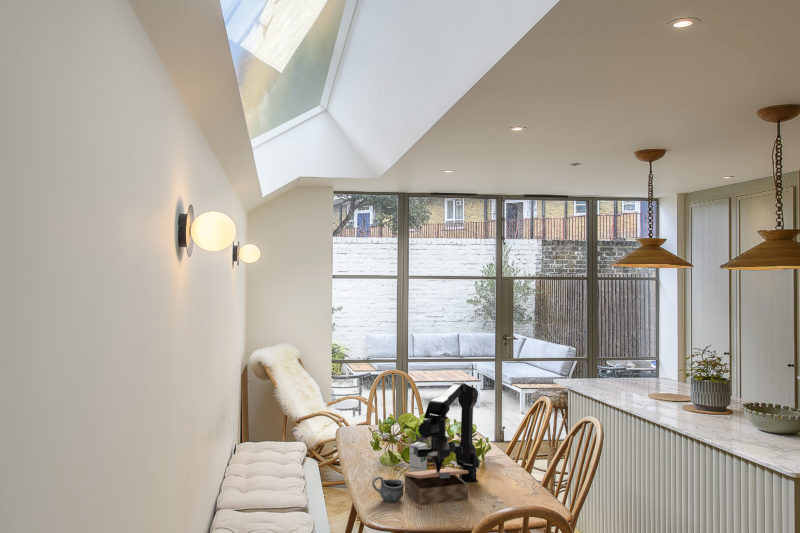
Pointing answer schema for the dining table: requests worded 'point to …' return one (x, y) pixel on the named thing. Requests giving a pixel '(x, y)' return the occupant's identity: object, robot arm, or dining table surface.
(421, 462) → the syrup box
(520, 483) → the dining table surface
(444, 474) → the lid
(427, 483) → the crate
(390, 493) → the mug
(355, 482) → the dining table surface
